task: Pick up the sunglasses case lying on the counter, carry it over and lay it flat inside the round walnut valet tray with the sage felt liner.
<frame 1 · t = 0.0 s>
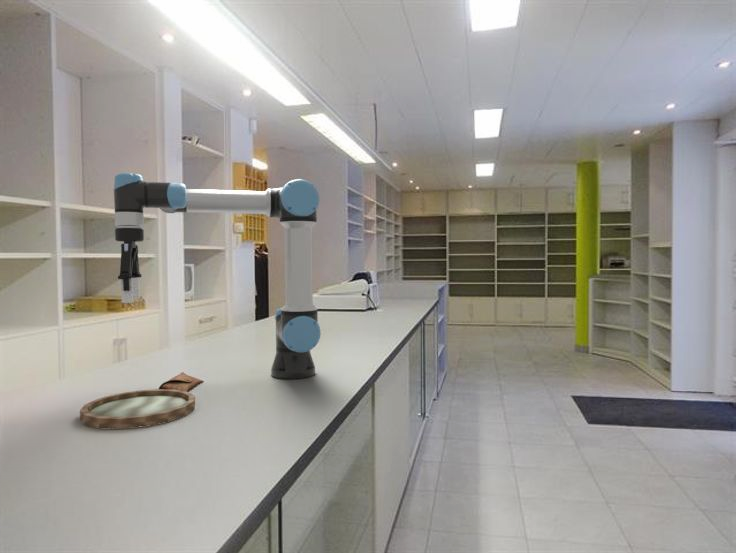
hand: (130, 300, 148), 28 cm above the counter, tool pointing down, fingers open, 13 cm apart
sunglasses case: (182, 390, 158), on the counter
tray: (140, 411, 133), on the counter
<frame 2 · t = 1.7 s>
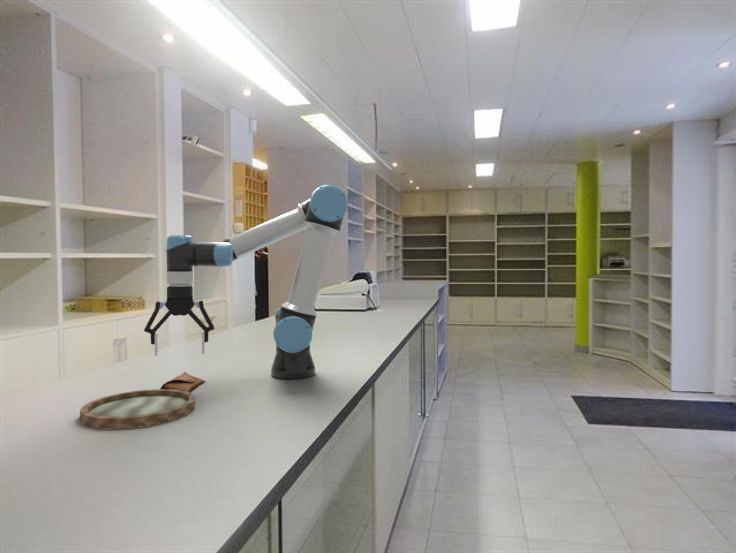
hand: (180, 353, 158), 11 cm above the counter, tool pointing down, fingers open, 13 cm apart
nothing on the counter moved.
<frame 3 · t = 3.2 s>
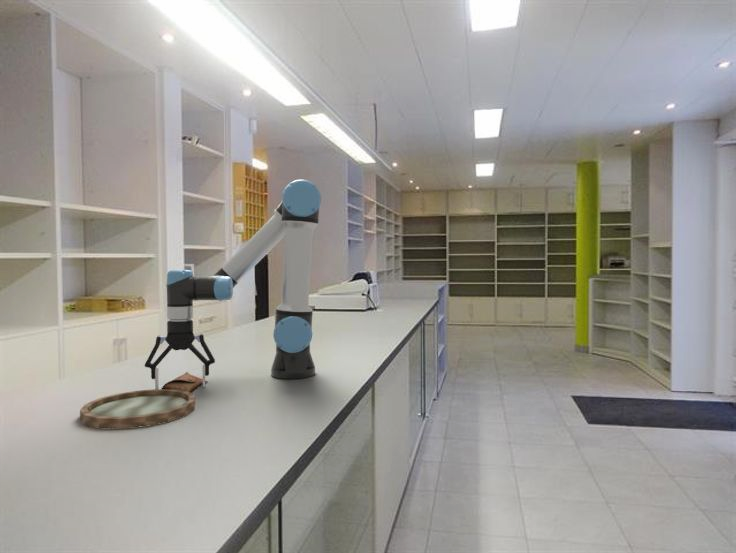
hand: (180, 388, 158), 0 cm above the counter, tool pointing down, fingers open, 13 cm apart
sunglasses case: (185, 390, 158), on the counter, touching gripper
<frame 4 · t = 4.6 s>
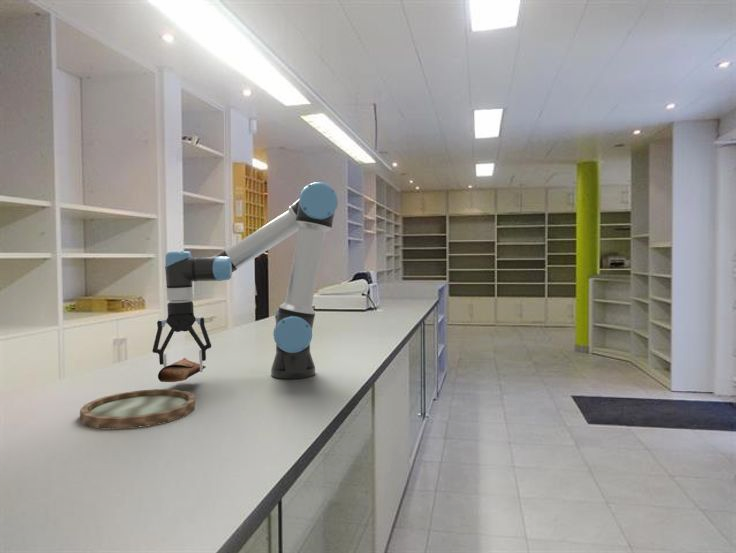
hand: (183, 373, 158), 5 cm above the counter, tool pointing down, fingers closed on sunglasses case, 10 cm apart
sunglasses case: (183, 375, 158), point 4 cm above the counter, touching gripper
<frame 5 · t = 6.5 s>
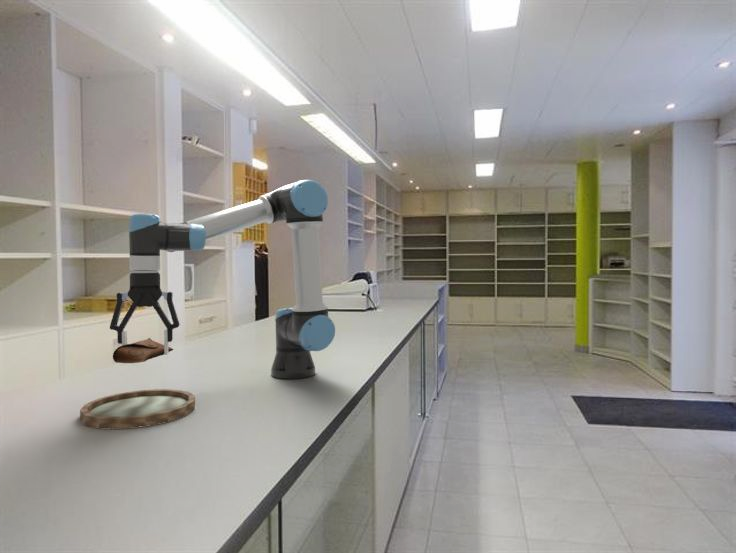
hand: (145, 354, 137), 14 cm above the counter, tool pointing down, fingers closed on sunglasses case, 10 cm apart
sunglasses case: (145, 357, 137), point 14 cm above the counter, touching gripper
when the fingers open (2 cm above the counter, at t = 8.5 s): sunglasses case stays where it is, resting on tray.
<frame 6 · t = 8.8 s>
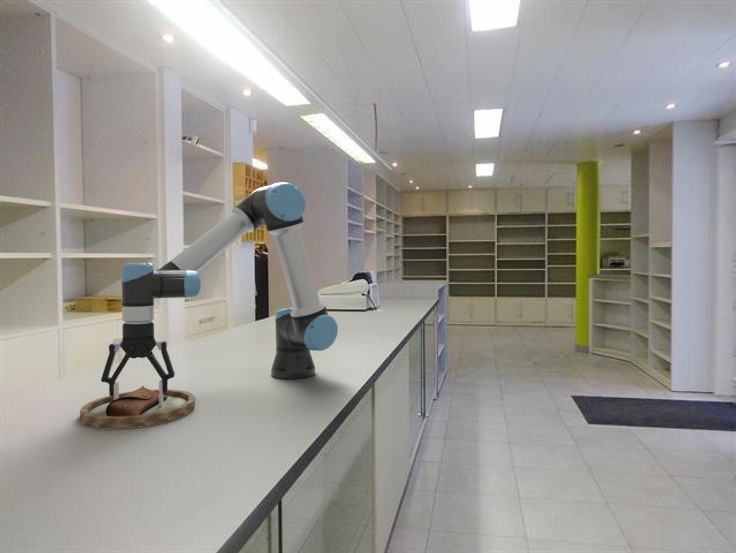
hand: (139, 406, 133), 1 cm above the counter, tool pointing down, fingers open, 10 cm apart
sunglasses case: (139, 408, 133), point 1 cm above the counter, touching tray
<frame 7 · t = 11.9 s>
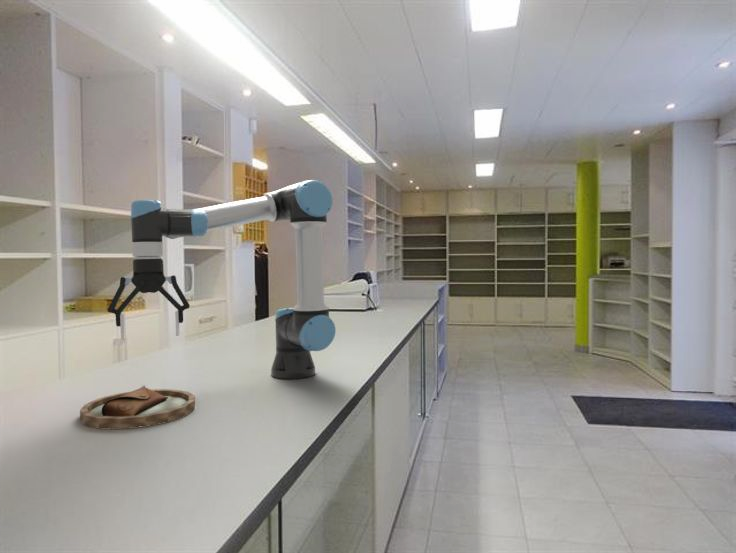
hand: (151, 336, 137), 19 cm above the counter, tool pointing down, fingers open, 13 cm apart
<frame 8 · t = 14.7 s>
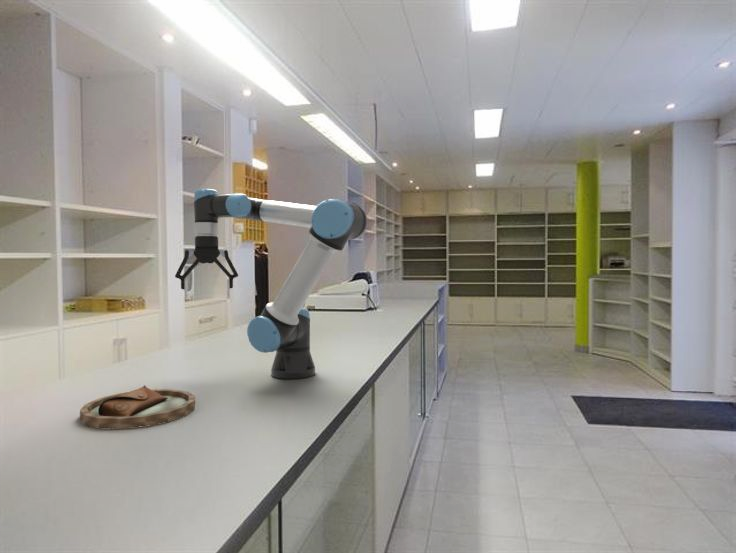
hand: (207, 298, 172), 27 cm above the counter, tool pointing down, fingers open, 13 cm apart
at the end: sunglasses case inside the target area on the tray (1.1 cm from its centre), point 1.0 cm above the tray's base; sunglasses case tilted 0°; the gripper is holding nothing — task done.
